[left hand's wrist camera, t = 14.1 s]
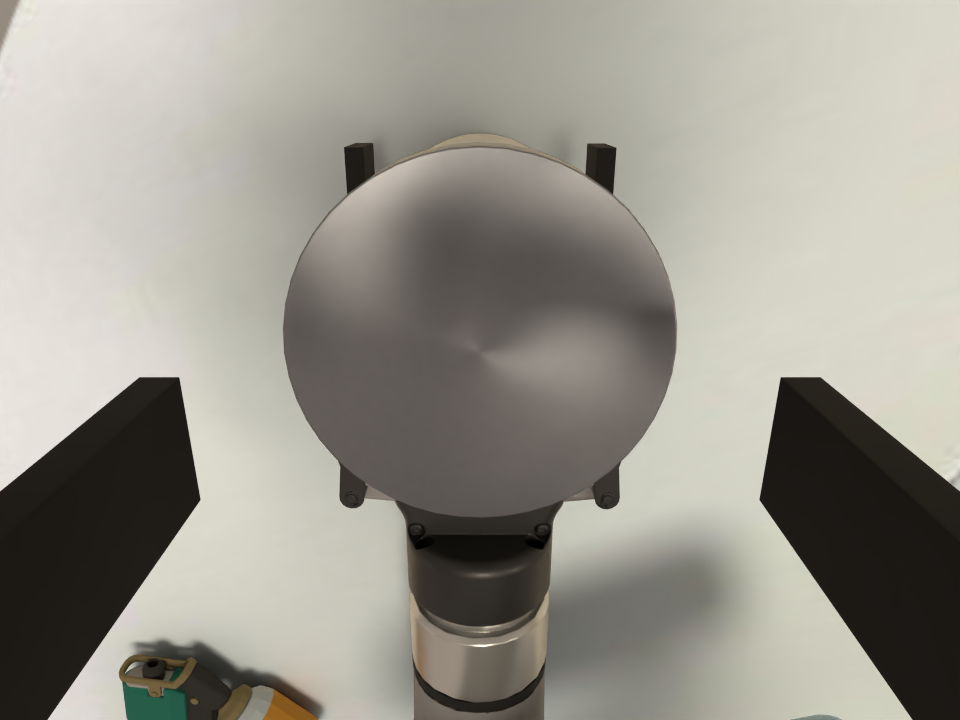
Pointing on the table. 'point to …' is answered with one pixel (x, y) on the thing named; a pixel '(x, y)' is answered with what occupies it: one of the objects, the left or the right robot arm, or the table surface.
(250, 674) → the table surface
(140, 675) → the spray gun
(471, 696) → the right robot arm
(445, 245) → the lid
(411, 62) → the table surface
